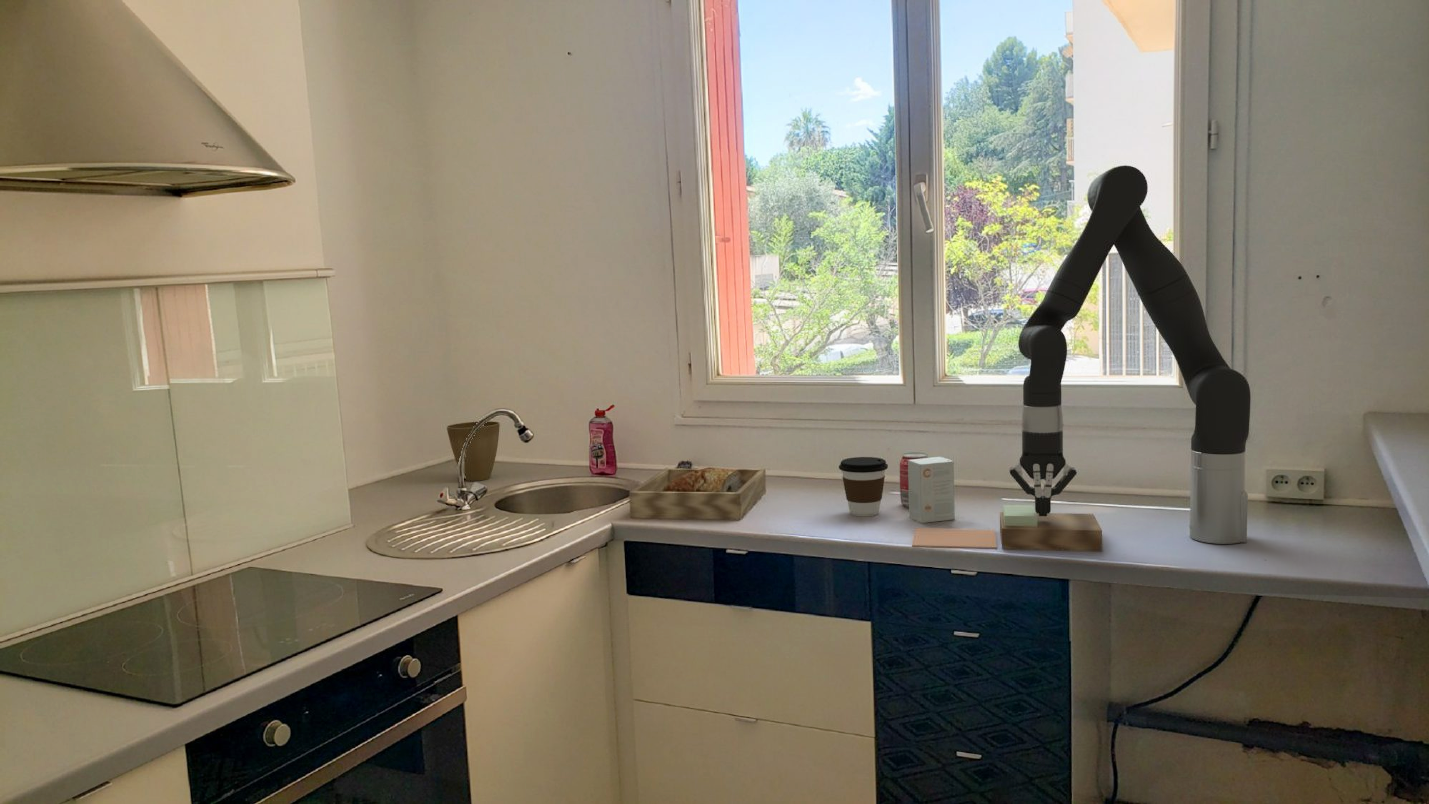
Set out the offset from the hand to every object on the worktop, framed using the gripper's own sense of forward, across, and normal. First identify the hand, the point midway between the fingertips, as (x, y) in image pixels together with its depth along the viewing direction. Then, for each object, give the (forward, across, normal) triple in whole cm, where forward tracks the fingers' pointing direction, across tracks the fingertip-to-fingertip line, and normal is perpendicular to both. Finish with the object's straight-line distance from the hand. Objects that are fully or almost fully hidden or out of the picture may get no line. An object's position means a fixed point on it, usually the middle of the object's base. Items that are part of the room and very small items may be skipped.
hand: (1042, 515), depth 191 cm
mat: (+5, +17, 0) cm, 18 cm away
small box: (+5, +22, -16) cm, 28 cm away
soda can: (+5, +26, -28) cm, 39 cm away
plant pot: (+5, +152, -55) cm, 161 cm away
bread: (+6, +76, -25) cm, 81 cm away
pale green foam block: (+1, +4, 0) cm, 4 cm away
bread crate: (+5, +77, -27) cm, 82 cm away
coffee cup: (+5, +37, -21) cm, 43 cm away
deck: (+5, -1, 0) cm, 5 cm away
